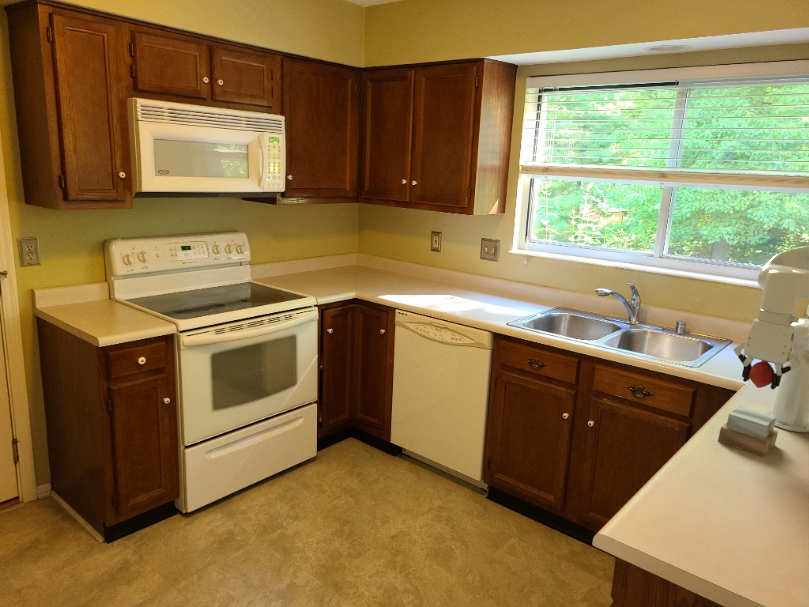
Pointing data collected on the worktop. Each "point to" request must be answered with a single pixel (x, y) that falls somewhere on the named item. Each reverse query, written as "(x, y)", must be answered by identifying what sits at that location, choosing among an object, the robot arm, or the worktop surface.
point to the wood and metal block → (749, 431)
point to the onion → (761, 374)
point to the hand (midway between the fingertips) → (759, 383)
